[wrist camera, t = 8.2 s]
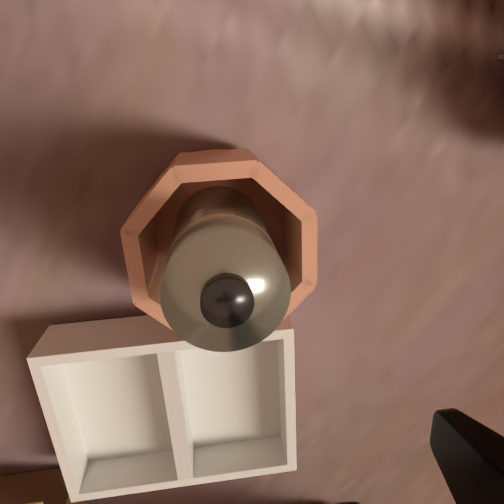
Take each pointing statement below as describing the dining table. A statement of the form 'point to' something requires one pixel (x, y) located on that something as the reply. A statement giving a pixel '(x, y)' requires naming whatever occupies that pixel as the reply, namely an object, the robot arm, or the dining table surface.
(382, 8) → the dining table surface
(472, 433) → the robot arm
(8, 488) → the cradle
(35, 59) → the dining table surface
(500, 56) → the fruit
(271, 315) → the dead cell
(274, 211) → the cup
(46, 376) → the trough tray
